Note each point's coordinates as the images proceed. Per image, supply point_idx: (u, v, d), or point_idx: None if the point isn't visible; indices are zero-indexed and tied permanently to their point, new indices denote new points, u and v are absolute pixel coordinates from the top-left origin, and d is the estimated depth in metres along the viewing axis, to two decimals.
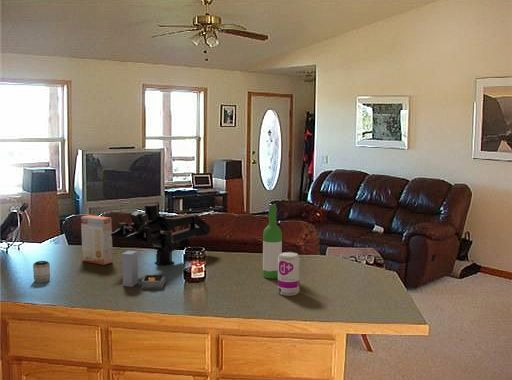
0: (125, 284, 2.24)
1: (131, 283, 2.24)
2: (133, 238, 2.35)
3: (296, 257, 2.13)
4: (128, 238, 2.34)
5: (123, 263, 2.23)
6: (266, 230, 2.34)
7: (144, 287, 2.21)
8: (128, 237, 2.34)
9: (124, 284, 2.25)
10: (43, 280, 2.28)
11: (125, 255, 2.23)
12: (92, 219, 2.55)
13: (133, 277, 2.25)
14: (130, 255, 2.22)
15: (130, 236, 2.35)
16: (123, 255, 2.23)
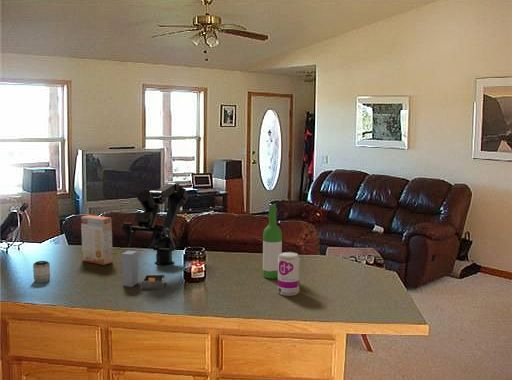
0: (125, 284, 2.24)
1: (131, 283, 2.24)
2: (154, 242, 2.33)
3: (296, 257, 2.13)
4: (150, 246, 2.32)
5: (123, 263, 2.23)
6: (266, 230, 2.34)
7: (144, 287, 2.21)
8: (150, 245, 2.32)
9: (124, 284, 2.25)
10: (43, 280, 2.28)
11: (125, 255, 2.23)
12: (92, 219, 2.55)
13: (133, 277, 2.25)
14: (130, 255, 2.22)
15: (151, 243, 2.32)
16: (123, 255, 2.23)
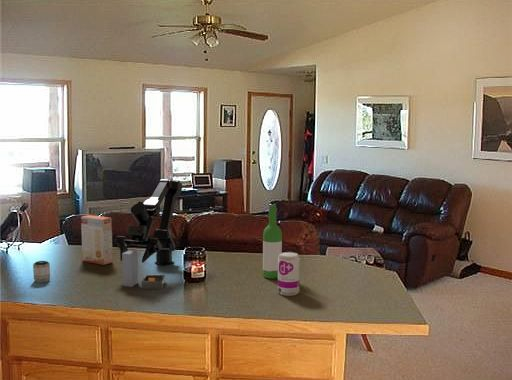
0: (125, 284, 2.24)
1: (131, 283, 2.24)
2: (147, 256, 2.28)
3: (296, 257, 2.13)
4: (144, 260, 2.26)
5: (123, 263, 2.23)
6: (266, 230, 2.34)
7: (144, 287, 2.21)
8: (144, 259, 2.26)
9: (124, 284, 2.25)
10: (43, 280, 2.28)
11: (125, 255, 2.23)
12: (92, 219, 2.55)
13: (133, 277, 2.25)
14: (130, 255, 2.22)
15: (145, 257, 2.26)
16: (123, 255, 2.23)
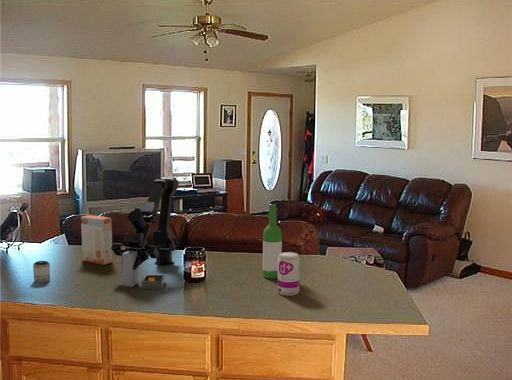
0: (125, 284, 2.24)
1: (131, 283, 2.24)
2: (139, 263, 2.26)
3: (296, 257, 2.13)
4: (135, 267, 2.25)
5: (123, 263, 2.23)
6: (266, 230, 2.34)
7: (144, 287, 2.21)
8: (135, 267, 2.24)
9: (124, 284, 2.25)
10: (43, 280, 2.28)
11: (125, 255, 2.23)
12: (92, 219, 2.55)
13: (133, 277, 2.24)
14: (130, 255, 2.22)
15: (136, 264, 2.24)
16: (123, 255, 2.23)
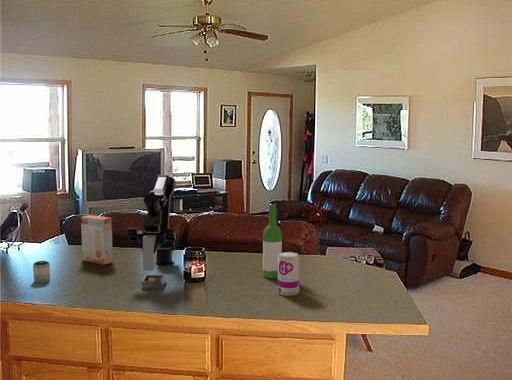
0: (145, 268, 2.22)
1: (152, 267, 2.22)
2: (158, 247, 2.25)
3: (296, 257, 2.13)
4: (156, 250, 2.23)
5: (143, 247, 2.21)
6: (266, 230, 2.34)
7: (144, 287, 2.21)
8: (156, 250, 2.23)
9: (144, 268, 2.22)
10: (43, 280, 2.28)
11: (146, 239, 2.20)
12: (92, 219, 2.55)
13: (153, 261, 2.23)
14: (152, 239, 2.20)
15: (156, 248, 2.23)
16: (144, 239, 2.20)
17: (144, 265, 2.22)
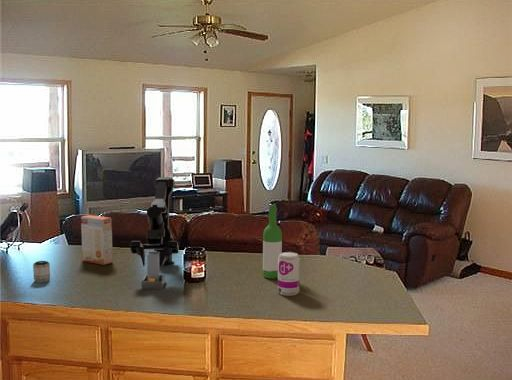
0: None
1: None
2: (165, 259, 2.26)
3: (296, 257, 2.13)
4: (163, 263, 2.24)
5: (148, 264, 2.22)
6: (266, 230, 2.34)
7: (144, 287, 2.21)
8: (163, 263, 2.24)
9: None
10: (43, 280, 2.28)
11: (150, 256, 2.21)
12: (92, 219, 2.55)
13: (158, 278, 2.24)
14: (156, 256, 2.21)
15: (163, 260, 2.24)
16: (148, 256, 2.21)
17: None
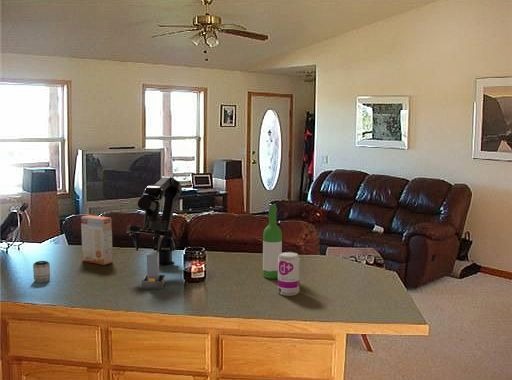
0: None
1: None
2: None
3: (296, 257, 2.13)
4: None
5: (147, 264, 2.22)
6: (266, 230, 2.34)
7: (144, 287, 2.21)
8: None
9: None
10: (43, 280, 2.28)
11: (150, 256, 2.21)
12: (92, 219, 2.55)
13: (157, 278, 2.24)
14: (156, 256, 2.21)
15: None
16: (148, 256, 2.21)
17: None
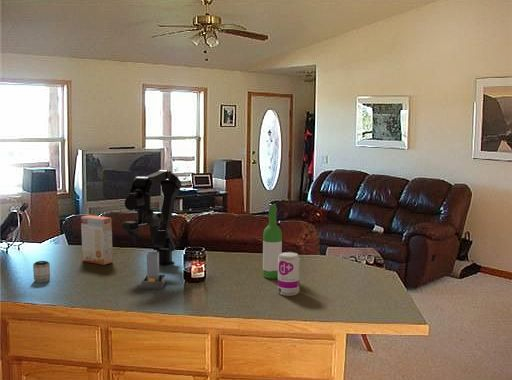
0: None
1: None
2: None
3: (296, 257, 2.13)
4: None
5: (147, 264, 2.22)
6: (266, 230, 2.34)
7: (144, 287, 2.21)
8: None
9: None
10: (43, 280, 2.28)
11: (150, 256, 2.21)
12: (92, 219, 2.55)
13: (157, 278, 2.24)
14: (156, 256, 2.21)
15: None
16: (148, 256, 2.21)
17: None
